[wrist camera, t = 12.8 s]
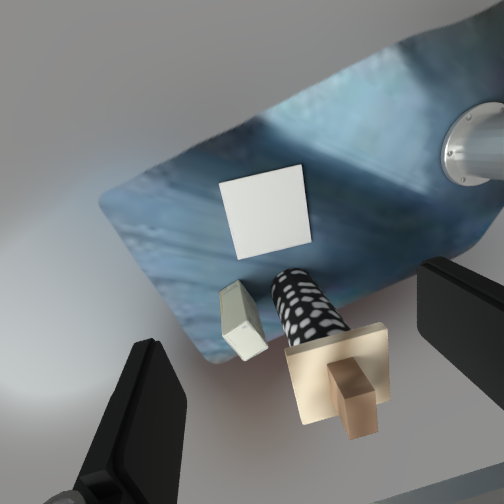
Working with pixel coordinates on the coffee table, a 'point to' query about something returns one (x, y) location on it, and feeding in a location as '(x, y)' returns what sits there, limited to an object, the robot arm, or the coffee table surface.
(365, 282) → the coffee table surface
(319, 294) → the spotted tube
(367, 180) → the coffee table surface
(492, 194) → the coffee table surface
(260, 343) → the skincare box
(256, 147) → the coffee table surface
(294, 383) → the lid
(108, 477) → the robot arm
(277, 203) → the mat
